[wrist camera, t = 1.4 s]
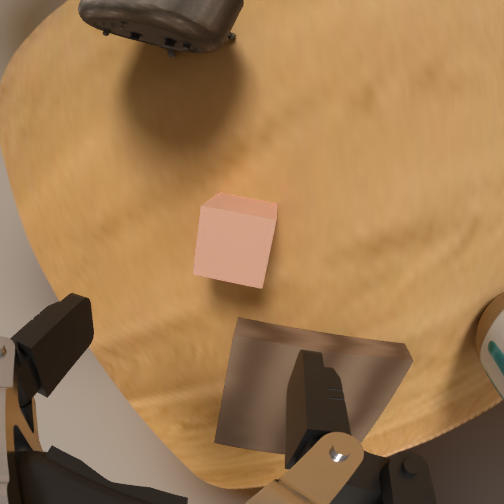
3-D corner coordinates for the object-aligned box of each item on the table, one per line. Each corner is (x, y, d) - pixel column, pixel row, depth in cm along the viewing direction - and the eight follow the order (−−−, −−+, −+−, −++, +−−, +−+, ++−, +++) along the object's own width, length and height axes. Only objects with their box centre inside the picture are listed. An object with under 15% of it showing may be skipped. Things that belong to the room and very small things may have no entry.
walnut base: (404, 343, 29) (413, 360, 26) (346, 441, 35) (349, 458, 32) (238, 317, 29) (233, 334, 26) (218, 425, 35) (214, 442, 33)
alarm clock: (254, 26, 20) (217, -99, 5) (229, 79, 22) (151, -8, 7) (145, 4, 20) (41, -75, 4) (122, 52, 22) (-8, 2, 6)
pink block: (277, 203, 25) (276, 220, 20) (266, 258, 27) (262, 288, 21) (219, 192, 25) (201, 205, 20) (210, 247, 27) (192, 274, 22)
